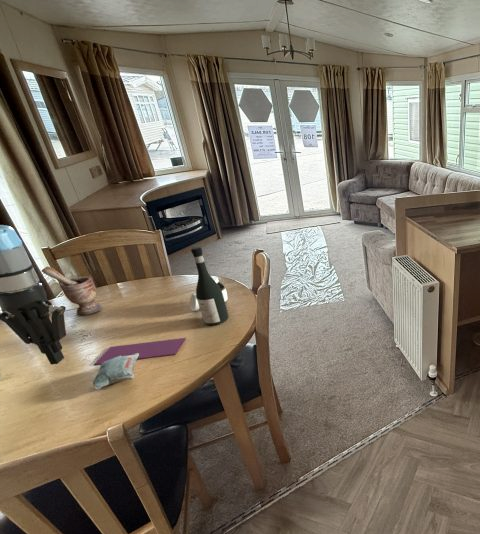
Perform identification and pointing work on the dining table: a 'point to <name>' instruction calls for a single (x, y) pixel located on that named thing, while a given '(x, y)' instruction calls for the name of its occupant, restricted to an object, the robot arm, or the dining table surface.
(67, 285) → the mortar and pestle
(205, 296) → the wine bottle
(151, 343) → the cloth
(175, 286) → the dining table surface
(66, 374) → the dining table surface
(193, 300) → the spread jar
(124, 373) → the packaged food
